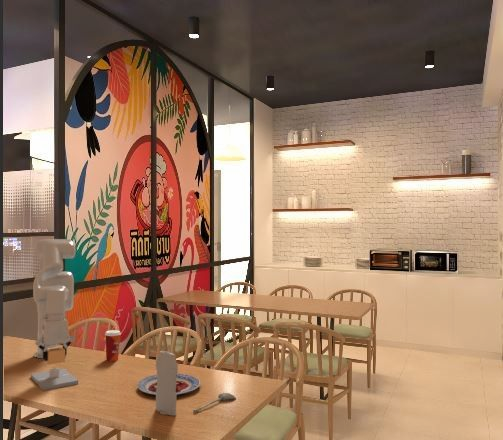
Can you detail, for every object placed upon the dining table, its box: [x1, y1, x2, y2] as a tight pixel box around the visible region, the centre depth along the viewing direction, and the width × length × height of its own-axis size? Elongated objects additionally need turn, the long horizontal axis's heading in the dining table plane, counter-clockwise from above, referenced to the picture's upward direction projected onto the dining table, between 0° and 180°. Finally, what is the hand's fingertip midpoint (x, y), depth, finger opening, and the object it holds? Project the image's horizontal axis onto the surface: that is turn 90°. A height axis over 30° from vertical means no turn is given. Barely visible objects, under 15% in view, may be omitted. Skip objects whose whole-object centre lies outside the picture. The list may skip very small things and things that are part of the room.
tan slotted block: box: [43, 345, 66, 365], centre depth 200 cm, size 7×7×5 cm
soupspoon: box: [192, 392, 237, 415], centre depth 177 cm, size 22×3×7 cm
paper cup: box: [104, 329, 122, 362], centre depth 233 cm, size 8×8×14 cm
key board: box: [30, 367, 79, 392], centre depth 200 cm, size 20×14×5 cm
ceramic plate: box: [136, 373, 201, 396], centre depth 194 cm, size 26×26×3 cm
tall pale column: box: [155, 350, 179, 417], centre depth 169 cm, size 11×4×22 cm, turn 56°
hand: (54, 358), depth 200 cm, fingers closed on tan slotted block, 6 cm apart
